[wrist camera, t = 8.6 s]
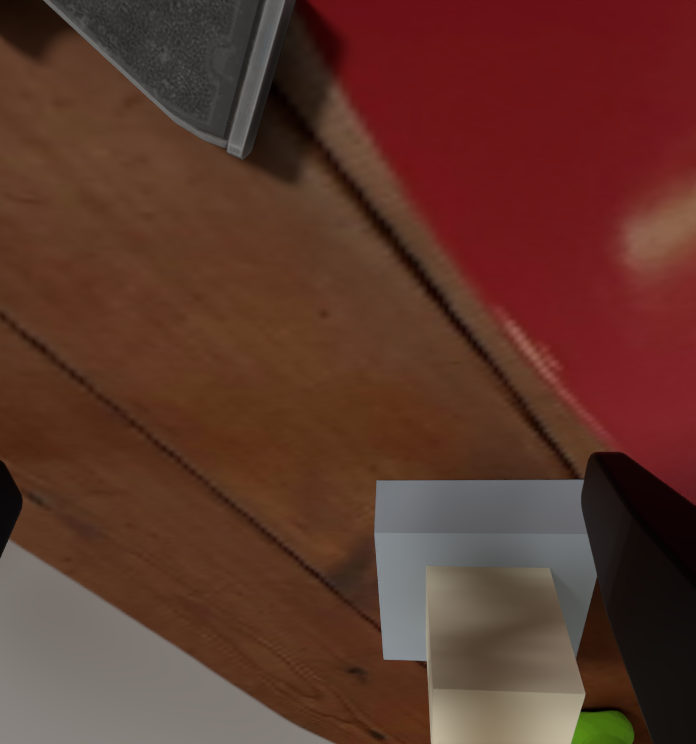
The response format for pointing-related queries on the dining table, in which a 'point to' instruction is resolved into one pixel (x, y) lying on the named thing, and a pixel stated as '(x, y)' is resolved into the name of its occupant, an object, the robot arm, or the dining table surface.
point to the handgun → (192, 57)
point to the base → (476, 546)
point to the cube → (499, 658)
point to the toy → (603, 728)
